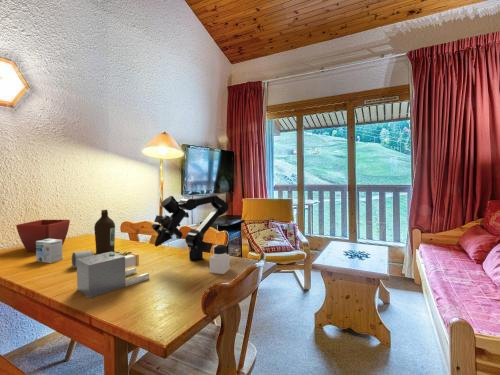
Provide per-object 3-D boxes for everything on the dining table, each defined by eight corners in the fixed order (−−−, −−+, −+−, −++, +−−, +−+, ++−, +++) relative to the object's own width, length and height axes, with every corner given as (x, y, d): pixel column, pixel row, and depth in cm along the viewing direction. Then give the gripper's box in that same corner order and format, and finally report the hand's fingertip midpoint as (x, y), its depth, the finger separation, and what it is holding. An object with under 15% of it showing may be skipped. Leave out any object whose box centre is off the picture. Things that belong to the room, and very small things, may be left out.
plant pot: (48, 253, 149) (47, 224, 148) (15, 253, 149) (14, 224, 149) (71, 245, 168) (70, 219, 167) (42, 245, 168) (42, 219, 168)
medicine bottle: (230, 269, 121) (229, 244, 121) (223, 274, 114) (223, 247, 114) (216, 267, 123) (216, 242, 123) (209, 272, 117) (209, 246, 116)
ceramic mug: (95, 265, 127) (94, 250, 127) (75, 269, 121) (75, 253, 121) (87, 261, 134) (87, 246, 134) (69, 265, 128) (68, 250, 128)
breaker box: (135, 272, 117) (134, 245, 117) (149, 278, 110) (148, 249, 109) (77, 289, 99) (76, 257, 99) (89, 298, 92) (88, 263, 91)
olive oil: (92, 255, 144) (90, 211, 144) (98, 250, 155) (97, 209, 154) (112, 254, 147) (111, 210, 146) (117, 249, 157) (117, 208, 156)
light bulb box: (35, 261, 134) (35, 241, 134) (49, 257, 141) (48, 238, 140) (50, 263, 131) (49, 242, 131) (63, 259, 138) (62, 239, 137)
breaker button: (133, 263, 113) (133, 252, 113) (138, 265, 110) (138, 254, 110) (104, 271, 104) (104, 259, 103) (109, 274, 101) (109, 261, 100)
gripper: (154, 207, 128) (133, 233, 120) (176, 210, 116) (154, 238, 108) (168, 221, 134) (149, 246, 126) (190, 225, 122) (171, 253, 114)
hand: (155, 245), depth 118 cm, fingers closed
